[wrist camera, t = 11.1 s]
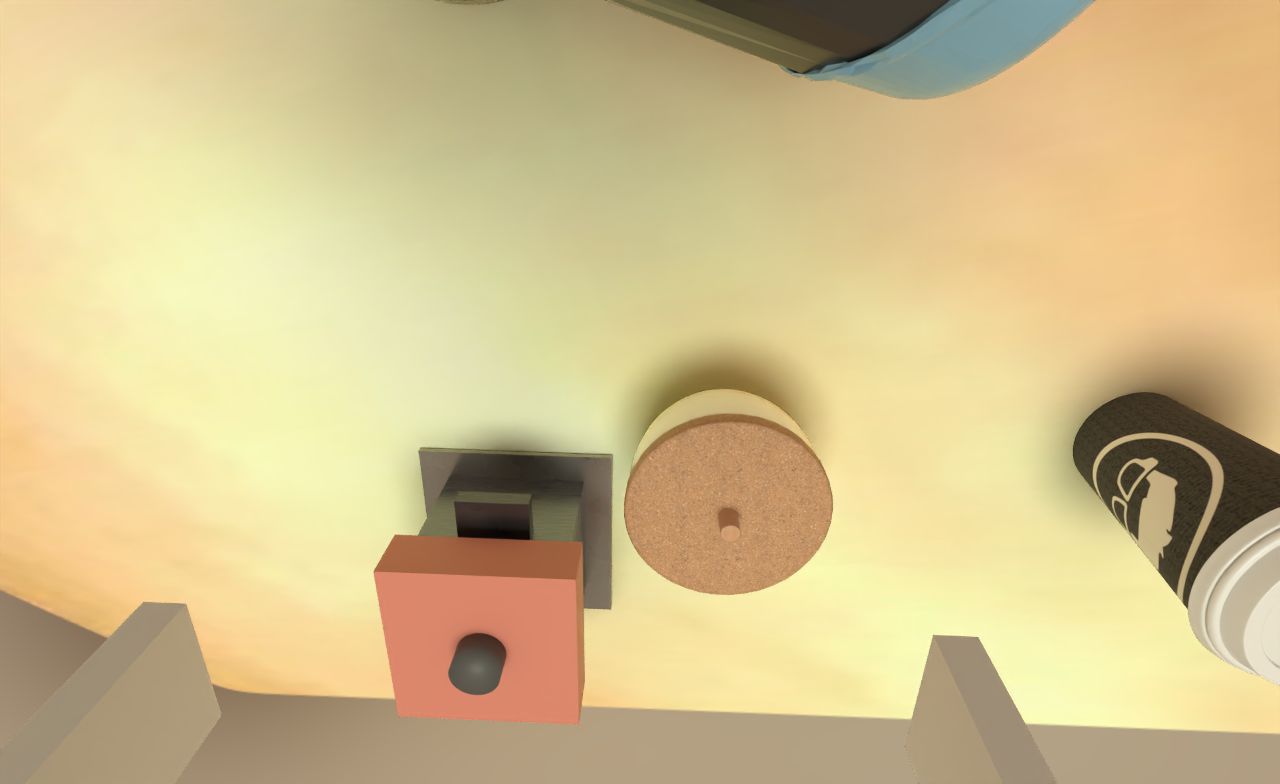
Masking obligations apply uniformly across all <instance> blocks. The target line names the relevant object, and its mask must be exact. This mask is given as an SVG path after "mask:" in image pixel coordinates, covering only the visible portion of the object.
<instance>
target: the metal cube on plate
mask: <svg viewBox="0 0 1280 784" xmlns="http://www.w3.org/2000/svg"><path fill="white" fill-rule="evenodd" d="M419 457H420V465H421V472H422V480H423V488H424V496H425V504H426V512H427V519H426V521H425V523H424V525H423V527H422V529H421V531H420V533H419V534H418V536H437V537H462V538H488V539H513V540H539V541H564V542H583V606H584V608H588V609H611V598H612V455H601V454H574V453H546V452H519V451H491V450H464V449H436V448H420V450H419Z"/></svg>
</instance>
